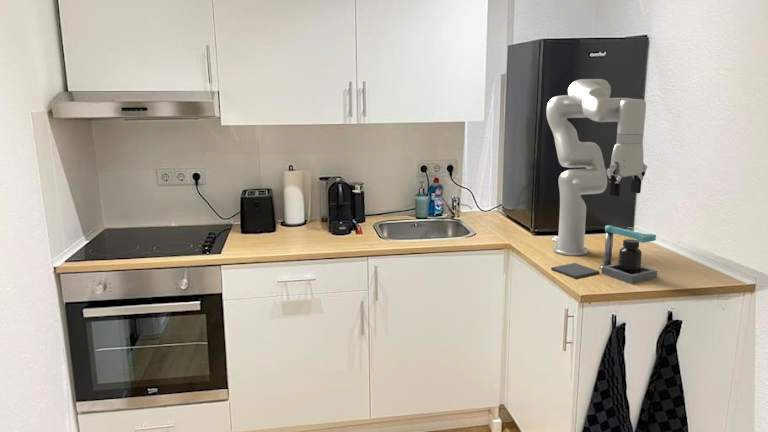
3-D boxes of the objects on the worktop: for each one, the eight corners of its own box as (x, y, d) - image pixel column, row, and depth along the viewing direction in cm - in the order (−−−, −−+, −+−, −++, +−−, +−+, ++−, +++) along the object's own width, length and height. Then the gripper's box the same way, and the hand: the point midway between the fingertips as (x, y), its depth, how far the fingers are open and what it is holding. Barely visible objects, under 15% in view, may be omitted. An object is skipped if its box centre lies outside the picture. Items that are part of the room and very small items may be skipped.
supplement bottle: (634, 272, 191) (637, 238, 188) (643, 278, 184) (647, 243, 182) (614, 272, 191) (616, 238, 188) (623, 279, 184) (626, 243, 181)
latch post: (596, 267, 196) (598, 231, 194) (606, 265, 199) (609, 229, 196) (607, 271, 192) (610, 234, 189) (618, 269, 194) (620, 233, 191)
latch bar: (599, 231, 192) (600, 226, 192) (612, 229, 195) (612, 224, 195) (642, 242, 178) (643, 237, 177) (655, 240, 180) (656, 234, 180)
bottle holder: (601, 273, 190) (602, 266, 189) (626, 268, 195) (627, 261, 195) (631, 283, 180) (632, 276, 179) (656, 277, 185) (657, 270, 184)
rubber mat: (551, 269, 195) (551, 267, 195) (574, 265, 200) (574, 262, 200) (575, 278, 185) (575, 276, 185) (599, 273, 190) (599, 271, 190)
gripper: (638, 137, 182) (633, 189, 186) (600, 140, 174) (596, 194, 178) (658, 139, 175) (653, 193, 179) (620, 142, 168) (615, 198, 171)
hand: (625, 194), depth 179 cm, fingers open, 9 cm apart
